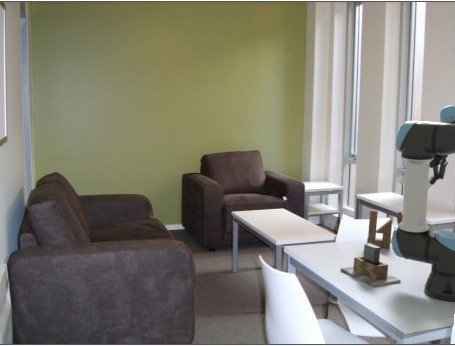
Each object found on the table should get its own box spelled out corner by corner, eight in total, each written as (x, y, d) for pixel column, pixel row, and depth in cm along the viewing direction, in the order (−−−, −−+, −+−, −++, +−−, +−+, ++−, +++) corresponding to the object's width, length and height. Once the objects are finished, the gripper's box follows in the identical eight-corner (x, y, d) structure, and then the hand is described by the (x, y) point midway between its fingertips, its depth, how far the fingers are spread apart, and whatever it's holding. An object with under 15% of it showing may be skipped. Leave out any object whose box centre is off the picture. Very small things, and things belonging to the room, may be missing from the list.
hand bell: (402, 245, 261) (404, 214, 258) (386, 242, 266) (389, 211, 264) (409, 242, 267) (412, 212, 264) (394, 239, 272) (396, 209, 270)
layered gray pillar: (378, 275, 213) (380, 247, 211) (372, 276, 211) (374, 248, 209) (368, 271, 218) (370, 243, 216) (362, 272, 216) (364, 244, 215)
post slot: (400, 282, 209) (401, 266, 208) (373, 286, 203) (374, 270, 202) (366, 266, 227) (367, 252, 226) (340, 270, 220) (341, 255, 219)
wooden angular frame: (389, 248, 255) (393, 212, 252) (367, 246, 257) (370, 210, 255) (389, 246, 259) (392, 210, 256) (366, 244, 261) (369, 209, 258)
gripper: (468, 160, 218) (439, 197, 214) (422, 153, 240) (395, 186, 236) (461, 147, 215) (431, 185, 211) (415, 141, 237) (387, 175, 233)
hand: (412, 186), depth 223 cm, fingers open, 13 cm apart
